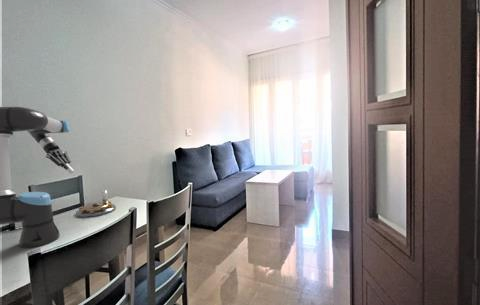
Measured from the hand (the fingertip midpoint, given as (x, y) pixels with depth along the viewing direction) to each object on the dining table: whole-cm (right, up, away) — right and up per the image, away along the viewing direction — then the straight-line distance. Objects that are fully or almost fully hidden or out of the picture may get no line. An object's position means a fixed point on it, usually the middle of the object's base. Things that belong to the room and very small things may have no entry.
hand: (72, 172), depth 159 cm
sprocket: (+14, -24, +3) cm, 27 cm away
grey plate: (+14, -25, +3) cm, 29 cm away
